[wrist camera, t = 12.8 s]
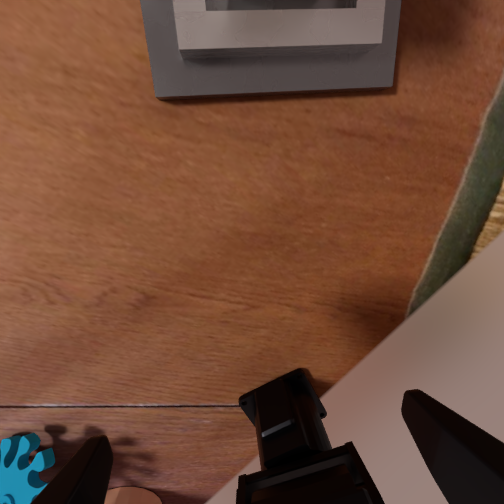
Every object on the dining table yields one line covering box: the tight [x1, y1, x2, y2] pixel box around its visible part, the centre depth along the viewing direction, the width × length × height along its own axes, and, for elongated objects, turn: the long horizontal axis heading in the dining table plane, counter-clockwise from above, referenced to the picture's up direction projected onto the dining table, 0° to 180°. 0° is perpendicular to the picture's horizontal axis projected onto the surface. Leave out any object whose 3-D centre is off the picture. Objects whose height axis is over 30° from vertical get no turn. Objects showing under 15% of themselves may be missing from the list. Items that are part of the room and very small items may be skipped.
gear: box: [0, 433, 55, 504], centre depth 23 cm, size 11×6×10 cm
